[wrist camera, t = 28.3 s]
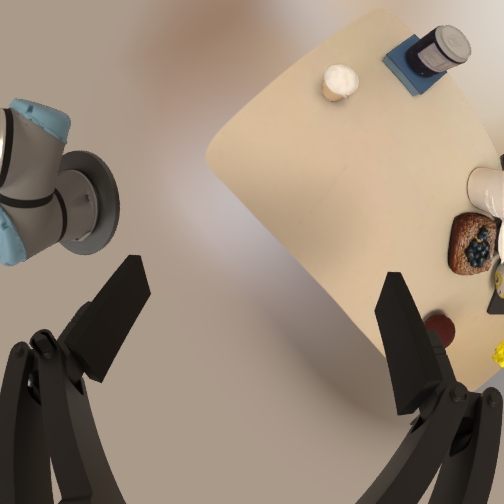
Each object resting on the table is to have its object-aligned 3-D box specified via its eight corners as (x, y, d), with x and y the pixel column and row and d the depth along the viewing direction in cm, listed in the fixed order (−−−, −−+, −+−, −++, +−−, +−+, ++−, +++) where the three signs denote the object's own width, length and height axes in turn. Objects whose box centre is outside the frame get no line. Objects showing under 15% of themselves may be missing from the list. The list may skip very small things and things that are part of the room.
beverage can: (438, 76, 29) (479, 60, 17) (413, 80, 30) (452, 62, 19) (424, 46, 27) (460, 22, 16) (398, 49, 28) (431, 22, 17)
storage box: (380, 60, 32) (387, 53, 29) (407, 40, 30) (414, 33, 26) (413, 97, 34) (422, 94, 30) (437, 76, 31) (447, 72, 28)
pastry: (490, 211, 37) (507, 219, 32) (483, 268, 41) (497, 280, 35) (450, 212, 39) (466, 220, 34) (444, 273, 43) (457, 286, 38)
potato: (414, 342, 44) (421, 309, 47) (426, 354, 47) (433, 324, 49) (446, 342, 38) (452, 307, 41) (455, 354, 40) (461, 323, 43)
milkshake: (318, 109, 37) (328, 96, 28) (316, 78, 35) (325, 57, 26) (346, 111, 36) (364, 99, 27) (345, 80, 35) (361, 61, 25)
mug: (485, 231, 39) (521, 252, 28) (460, 186, 37) (500, 198, 26) (504, 204, 36) (542, 220, 25) (481, 158, 34) (522, 165, 23)
